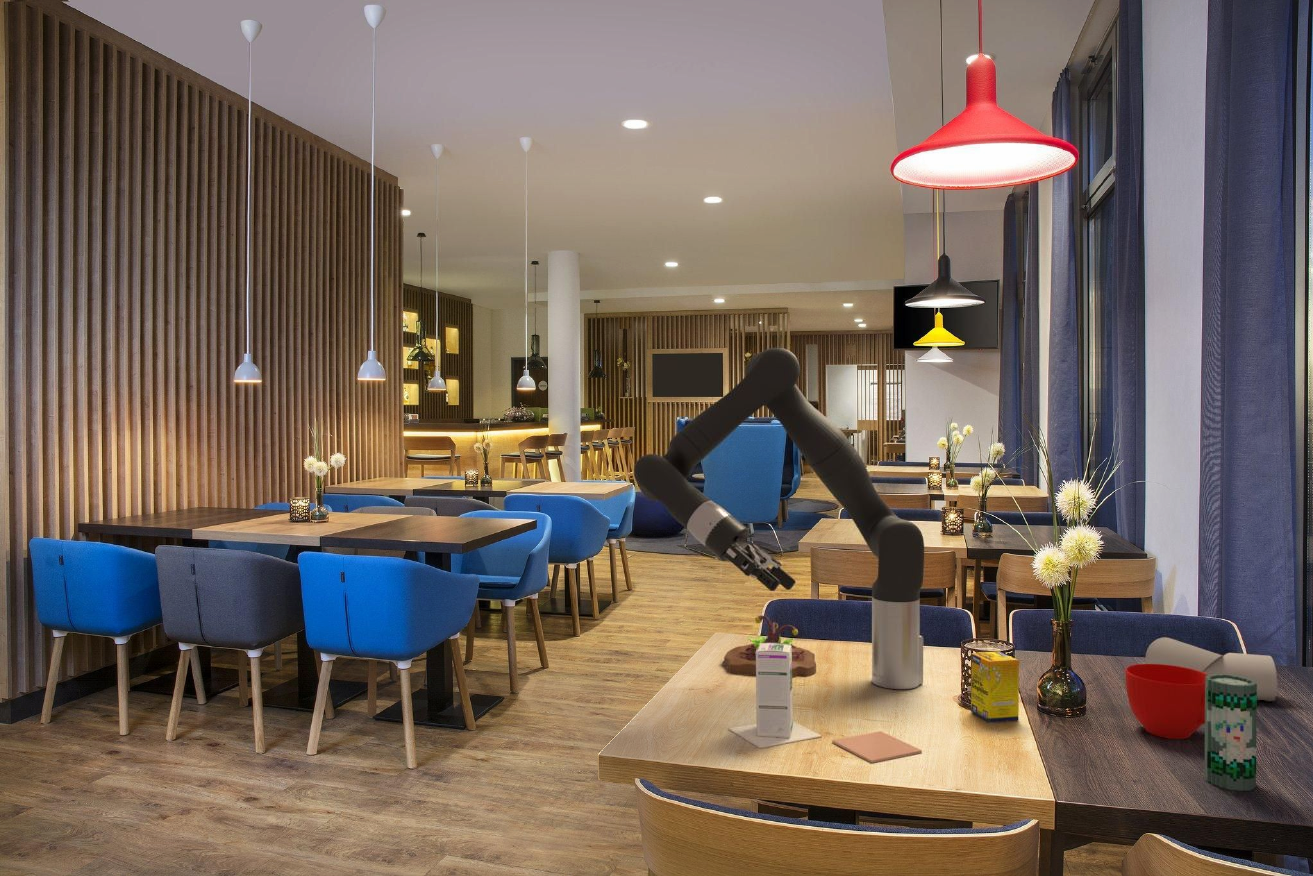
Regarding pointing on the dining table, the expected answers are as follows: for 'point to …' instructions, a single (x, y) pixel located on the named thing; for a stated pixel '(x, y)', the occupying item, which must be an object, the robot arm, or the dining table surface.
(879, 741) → the coaster
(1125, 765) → the dining table surface
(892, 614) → the robot arm
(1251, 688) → the can
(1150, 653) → the elbow connector
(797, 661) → the plant
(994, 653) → the supplement box
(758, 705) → the syrup box
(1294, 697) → the dining table surface
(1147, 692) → the ceramic cup
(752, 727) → the white square plate
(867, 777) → the dining table surface
